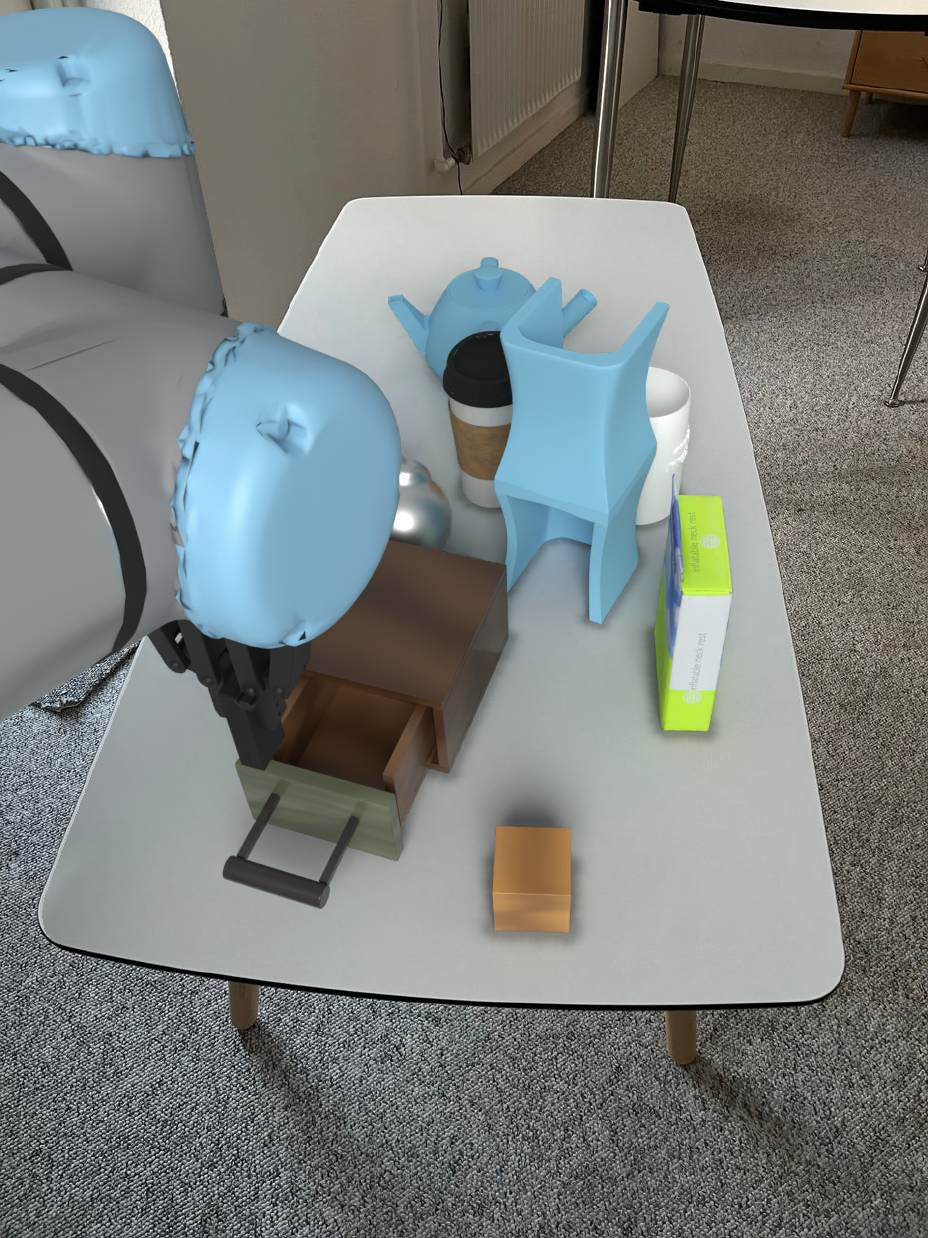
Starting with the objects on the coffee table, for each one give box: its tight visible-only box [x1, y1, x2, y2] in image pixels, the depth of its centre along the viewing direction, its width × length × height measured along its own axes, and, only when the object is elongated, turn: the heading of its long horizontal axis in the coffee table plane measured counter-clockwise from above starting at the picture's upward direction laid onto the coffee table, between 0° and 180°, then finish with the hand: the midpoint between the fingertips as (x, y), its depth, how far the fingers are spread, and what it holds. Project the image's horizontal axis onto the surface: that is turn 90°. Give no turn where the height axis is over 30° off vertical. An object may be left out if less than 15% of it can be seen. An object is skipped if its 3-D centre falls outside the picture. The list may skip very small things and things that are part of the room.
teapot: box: [387, 256, 598, 381], centre depth 114 cm, size 15×17×11 cm
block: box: [491, 825, 572, 934], centre depth 72 cm, size 5×5×5 cm
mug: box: [636, 366, 692, 526], centre depth 99 cm, size 8×12×12 cm
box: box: [653, 473, 734, 732], centre depth 80 cm, size 10×4×17 cm, turn 176°
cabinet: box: [303, 540, 509, 775], centre depth 84 cm, size 15×13×9 cm
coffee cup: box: [442, 331, 513, 509], centre depth 98 cm, size 8×8×15 cm
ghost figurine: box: [389, 455, 453, 551], centre depth 94 cm, size 9×10×10 cm
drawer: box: [222, 675, 437, 910], centre depth 76 cm, size 20×11×7 cm, turn 160°
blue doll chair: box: [494, 276, 670, 625], centre depth 86 cm, size 10×10×25 cm
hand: (263, 749), depth 63 cm, fingers closed
